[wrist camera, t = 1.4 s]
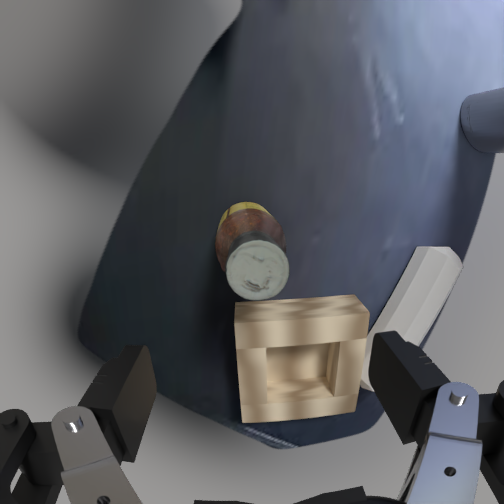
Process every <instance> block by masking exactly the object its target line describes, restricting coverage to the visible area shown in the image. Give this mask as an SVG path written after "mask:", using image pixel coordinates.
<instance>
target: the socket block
mask: <svg viewBox="0 0 504 504" xmlns="http://www.w3.org/2000/svg"><path fill="white" fill-rule="evenodd" d="M369 316H370V312H369V311H368V310H367V309H366V308H365V306H364V305H363V304H362V303H361V302H360V301H359V299H358V298H357V297H356V296H355V295H342V296H330V297H317V298H303V299H287V300H270V301H252V302H235V319H234V325H235V339H236V352H237V365H238V377H239V390H240V401H241V413H242V423H254V422H271V421H284V420H295V419H305V418H313V417H321V416H329V415H336V414H342V413H349V412H355V409H356V403H357V398H358V393H359V387H360V381H361V375H362V369H363V362H364V356H365V348H366V341H367V333H368V325H369Z"/></svg>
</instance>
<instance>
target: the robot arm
mask: <svg viewBox="0 0 504 504" xmlns="http://www.w3.org/2000/svg"><path fill="white" fill-rule="evenodd" d="M461 123H462V128H463V131H464V133H465V136H466V138H467V139H468V141H469V143H470V144H471V145H472V146H473V147H474V148H475V149H476V150H478V151H480V152H484V153H504V88H499V89H495V90H490V91H486V92H482V93H477V94H473V95H470V96H468V97H467V98H466V99H465V100H464V102H463V104H462V107H461ZM368 377H369V382H370V384H371V386H372V388H373V390H374V392H375V394H376V395H377V397H378V399H379V401H380V403H381V404H382V406H383V408H384V410H385V412H386V413H387V415H388V417H389V419H390V421H391V423H392V424H393V426H394V428H395V430H396V432H397V434H398V435H399V437H400V439H401V441H402V443H403V445H404V444H407V443H411V442H415V441H416V443H417V444H418V446H417V449H416V451H415V454H414V456H413V459H412V462H411V465H410V468H409V471H408V473H407V476H406V478H405V481H404V483H403V486H402V488H401V491H400V493H399V495H398V497H397V499H396V500H395V499H391V498H387V497H380V496H366V495H365V492H364V489H363V486H360V487H355V488H350V489H345V490H341V491H335V492H329V493H323V494H320V495H318V496H315V497H312V498H309V499H306V500H303V501H300V502H297V503H294V504H473V503H474V498H475V493H476V487H477V482H478V476H479V469H480V470H481V472H482V474H483V476H484V477H485V479H486V481H487V483H488V485H489V486H490V488H491V490H492V492H493V493H494V495H495V497H496V499H497V501H498V503H499V504H504V380H503V381H502V382H501V383H500V385H499V387H498V389H497V392H496V393H492V394H480V395H478V393H477V391H476V390H475V389H474V388H473V387H471V386H469V385H468V384H465V383H461V382H450V381H449V379H448V378H447V377H446V376H445V375H444V374H443V373H442V371H441V370H440V369H439V368H438V367H437V366H436V365H435V364H434V363H432V360H431V359H430V358H429V357H427V356H426V354H425V353H424V351H423V350H422V349H421V348H420V347H418V346H416V345H415V344H413V343H411V342H409V341H407V342H406V341H405V340H404V339H403V338H402V337H401V336H400V335H399V334H398V332H397V331H395V330H393V331H387V332H379V333H375V335H374V337H373V342H372V349H371V356H370V362H369V368H368ZM155 397H156V380H155V375H154V371H153V367H152V363H151V358H150V353H149V350H148V347H147V346H145V345H126V346H125V347H124V348H123V350H122V351H121V353H120V355H119V356H118V358H112V359H110V360H109V361H108V362H106V363H105V364H104V365H103V366H102V367H101V369H100V370H99V372H98V373H97V376H96V377H95V378H94V380H93V383H91V385H90V386H89V388H88V389H87V391H86V393H85V394H84V396H83V397H82V399H81V401H80V402H79V404H78V406H73V407H68V408H65V409H63V410H61V411H59V412H58V413H57V414H56V415H55V416H54V417H53V419H52V422H35V423H32V422H31V420H30V419H29V417H28V415H27V413H26V412H24V411H23V410H19V409H10V410H6V411H4V412H2V413H0V504H55V503H56V501H57V498H58V495H59V493H60V490H61V487H62V485H64V486H65V489H66V492H67V495H68V497H69V500H70V502H71V504H142V502H141V501H140V499H139V497H138V496H137V494H136V493H135V491H134V489H133V488H132V486H131V484H130V483H129V481H128V479H127V478H126V476H125V474H124V472H123V471H122V469H121V467H120V465H121V462H122V461H126V462H134V461H135V458H136V455H137V452H138V449H139V446H140V442H141V439H142V436H143V433H144V430H145V427H146V424H147V421H148V418H149V415H150V412H151V409H152V406H153V403H154V400H155ZM18 468H19V469H20V470H21V472H22V474H21V475H20V477H19V479H18V482H17V484H16V486H15V488H14V490H13V492H12V494H11V491H10V485H11V482H12V480H13V478H14V476H15V474H16V472H17V470H18ZM194 504H252V503H245V502H239V501H202V500H195V501H194Z"/></svg>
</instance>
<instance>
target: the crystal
mask: <svg viewBox="0 0 504 504" xmlns="http://www.w3.org/2000/svg"><path fill="white" fill-rule="evenodd" d="M462 269H463V265H462V263H461V260H460V258H459V256H458V255H457V254H456V253H455V252H454V251H453V250H452V249H451V248H450V247H417V248H416V250H415V252H414V254H413V256H412V258H411V260H410V262H409V264H408V266H407V268H406V269H405V271H404V273H403V275H402V277H401V279H400V281H399V283H398V284H397V286H396V288H395V290H394V292H393V293H392V295H391V297H390V299H389V301H388V302H387V304H386V306H385V308H384V309H383V311H382V313H381V314H380V316H379V318H378V319H377V321H376V323H375V324H374V326H373V328H372V329H371V331H370V333H369V334H368V336H367V341H366V348H365V356H364V362H363V369H362V375H361V381H360V386H361V387H362V388H364V389H367V390H370V391H373V392H374V390H373V388H372V386H371V384H370V382H369V377H368V368H369V362H370V356H371V349H372V342H373V337H374V335H375V333H379V332H387V331H393V330H395V331H397V332H398V334H399V335H400V336H401V337H402V338H403V339H404V340H405V341H406V342H407V341H409V342H411V343H413V344H415V345H416V346H419V345H420V343H421V342H422V340H423V339H424V337H425V335H426V334H427V332H428V331H429V329H430V327H431V326H432V324H433V322H434V321H435V319H436V317H437V315H438V314H439V312H440V310H441V308H442V307H443V305H444V303H445V301H446V299H447V298H448V296H449V294H450V292H451V290H452V288H453V286H454V285H455V283H456V281H457V279H458V277H459V275H460V272H461V271H462Z"/></svg>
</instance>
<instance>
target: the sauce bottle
mask: <svg viewBox="0 0 504 504" xmlns="http://www.w3.org/2000/svg"><path fill="white" fill-rule="evenodd" d="M215 247H216V254H217V257H218V261H219V262H220V264H221V268H222V270H223V271H224V272H225V273H226V278H227V281H228V284H229V286H230V287H231V288H232V290H233V291H234V292H235V293H237V294H238V295H239V296H240V297H242V298H244V299H247V300H256V301H261V300H266V299H269V298H271V297H273V296H276V295H277V294H278V293H279V292H280V291H281V290H282V289H283V288H284V286H285V284H286V282H287V280H288V277H289V262H288V259H287V257H286V240H285V235H284V233H283V230H282V227H281V225H280V224H279V223H278V222H277V220H276V219H275V218H274V217H273V216H272V215H270V214H269V213H268V212H267V211H266V210H265V209H264V208H263V207H262V206H260V205H258V204H256V203H252V202H241V203H237V204H235V205H233V206H231V207H230V208H229V209H228V210H227V211H226V212H225V213H224V215H223V216H222V218H221V221H220V224H219V227H218V231H217V235H216V244H215Z"/></svg>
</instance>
